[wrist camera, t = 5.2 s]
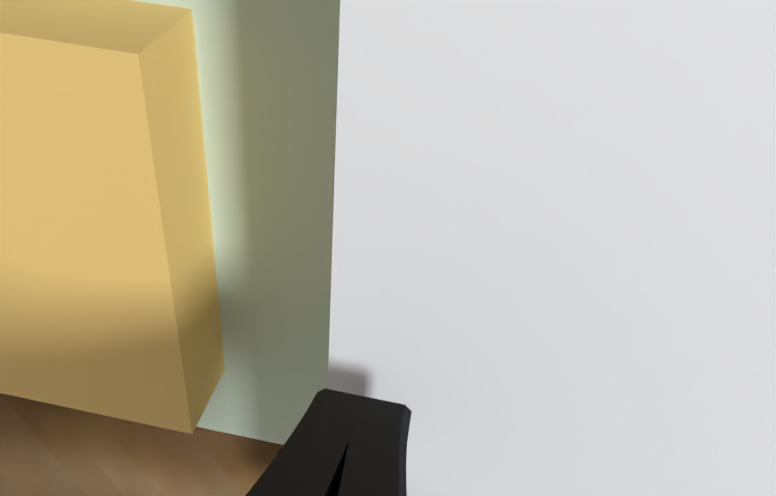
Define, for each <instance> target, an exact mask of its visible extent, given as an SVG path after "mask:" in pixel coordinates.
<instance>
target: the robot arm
mask: <svg viewBox="0 0 776 496" xmlns="http://www.w3.org/2000/svg"><path fill="white" fill-rule="evenodd" d="M411 413H412V411H411V410H410V409H409V408H408V407H407V406H406V405H404V404H399V403H394V402H389V401H385V400H380V399H375V398H370V397H365V396H360V395H355V394H350V393H345V392H340V391H335V390H331V389H326V388H325V389H322V390H320V391H318V392H317V393H316V395H315V397H314V399H313V401H312V402H311V404H310V406H309V407H308V409H307V411H306V412H305V414H304V416H303V417H302V419H301V420H300V422H299V423H298V425H297V426H296V428H295V430H294V431H293V432H292V434H291V435H290V437H289V438H288V440H287V441H286V443H285V444H284V445H283V447H282V448H281V450H280V451H279V452H278V454H277V455H276V457H275V458H274V459H273V461H272V462H271V464H270V465H269V466H268V468H267V469H266V470H265V471H264V473H263V474H262V475H261V477H260V478H259V479H258V481H257V482H256V483H255V484H254V486H253V487H252V488H251V490H250V491H249V492H248V493H247V495H246V496H407V490H406V454H407V440H408V433H409V426H410V419H411Z"/></svg>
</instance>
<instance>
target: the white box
mask: <svg viewBox="0 0 776 496" xmlns="http://www.w3.org/2000/svg"><path fill="white" fill-rule="evenodd" d="M328 389H331V390H335V391H340V392H345V393H350V394H355V395H360V396H365V397H370V398H375V399H380V400H385V401H389V402H394V403H399V404H404V405H406V406H407V407H408V408H409V409H410V410H411V411H412V413H411V419H410V426H409V433H408V440H407V454H406V490H407V496H776V0H340V23H339V54H338V85H337V116H336V146H335V177H334V208H333V239H332V269H331V300H330V331H329V362H328Z"/></svg>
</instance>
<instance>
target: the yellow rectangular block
mask: <svg viewBox="0 0 776 496" xmlns="http://www.w3.org/2000/svg"><path fill="white" fill-rule="evenodd" d="M224 371H225V365H224V354H223V343H222V332H221V321H220V310H219V299H218V288H217V277H216V266H215V255H214V244H213V233H212V222H211V211H210V200H209V189H208V179H207V168H206V157H205V146H204V135H203V124H202V113H201V102H200V91H199V80H198V69H197V58H196V47H195V36H194V25H193V14H192V9H187V8H181V7H174V6H167V5H160V4H154V3H147V2H140V1H134V0H0V393H3V394H7V395H12V396H17V397H21V398H26V399H30V400H35V401H40V402H44V403H49V404H54V405H58V406H63V407H68V408H72V409H77V410H82V411H86V412H91V413H96V414H100V415H105V416H110V417H114V418H119V419H123V420H128V421H133V422H137V423H142V424H147V425H151V426H156V427H161V428H165V429H170V430H175V431H179V432H184V433H189V434H193V432H194V430H195V428H196V426H197V424H198V422H199V420H200V418H201V416H202V414H203V412H204V410H205V408H206V406H207V404H208V402H209V400H210V398H211V396H212V394H213V392H214V391H215V389H216V387H217V385H218V383H219V381H220V379H221V377H222V375H223V373H224Z"/></svg>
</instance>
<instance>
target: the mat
mask: <svg viewBox="0 0 776 496" xmlns="http://www.w3.org/2000/svg"><path fill="white" fill-rule="evenodd" d="M134 1H140V2H147V3H154V4H160V5H167V6H174V7H181V8H187V9H192V14H193V25H194V36H195V47H196V58H197V69H198V80H199V91H200V102H201V113H202V124H203V135H204V146H205V157H206V168H207V179H208V189H209V200H210V211H211V222H212V233H213V244H214V255H215V266H216V277H217V288H218V299H219V310H220V321H221V332H222V343H223V354H224V365H225V371H224V373H223V375H222V377H221V379H220V381H219V383H218V385H217V387H216V389H215V391H214V392H213V394H212V396H211V398H210V400H209V402H208V404H207V406H206V408H205V410H204V412H203V414H202V416H201V418H200V420H199V422H198V424H197V426H196V427H201V428H206V429H210V430H215V431H220V432H224V433H229V434H234V435H239V436H243V437H248V438H253V439H257V440H262V441H267V442H271V443H276V444H281V445H284V444H285V443H286V441H287V440H288V438H289V437H290V435H291V434H292V432H293V431H294V430H295V428H296V426H297V425H298V423H299V422H300V420H301V419H302V417H303V416H304V414H305V412H306V411H307V409H308V407H309V406H310V404H311V402H312V401H313V399H314V397H315V395H316V393H317V392H318V391H320V390H322V389H325V388H326V389H328V362H329V331H330V300H331V269H332V239H333V208H334V177H335V146H336V116H337V85H338V54H339V23H340V0H134Z"/></svg>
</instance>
